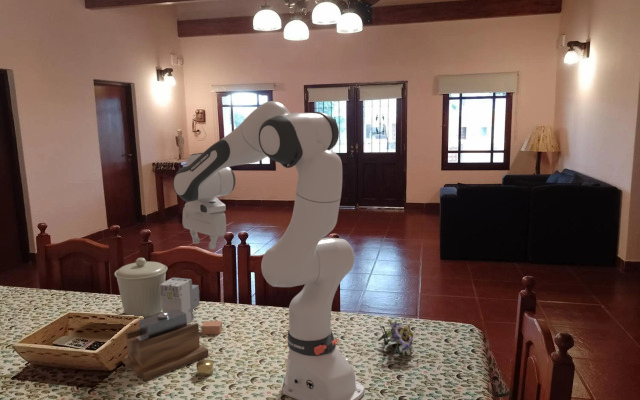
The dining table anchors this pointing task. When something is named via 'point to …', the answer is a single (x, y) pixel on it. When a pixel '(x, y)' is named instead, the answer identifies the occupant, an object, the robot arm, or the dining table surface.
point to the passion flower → (398, 337)
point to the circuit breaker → (180, 296)
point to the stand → (163, 351)
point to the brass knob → (204, 368)
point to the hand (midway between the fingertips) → (204, 245)
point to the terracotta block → (211, 327)
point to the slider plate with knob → (161, 324)
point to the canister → (141, 287)
